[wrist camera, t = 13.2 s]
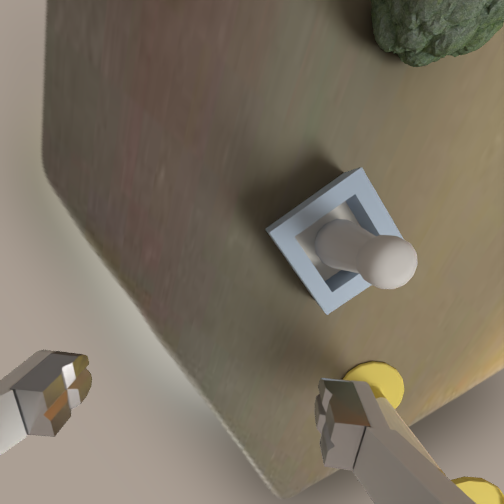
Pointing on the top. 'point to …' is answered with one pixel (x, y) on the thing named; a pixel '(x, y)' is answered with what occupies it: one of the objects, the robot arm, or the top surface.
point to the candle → (389, 397)
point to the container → (314, 218)
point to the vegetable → (434, 27)
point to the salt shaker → (366, 253)
